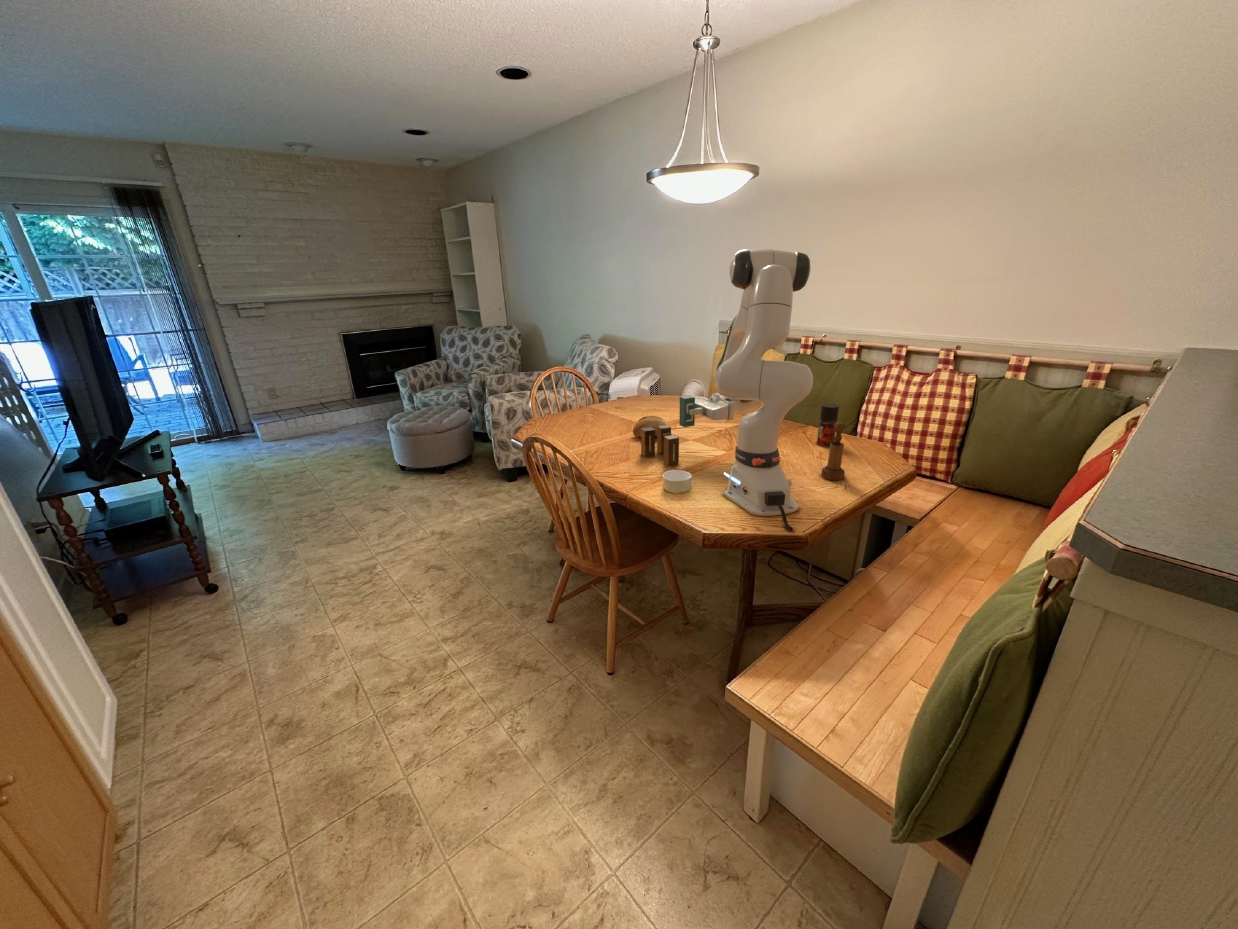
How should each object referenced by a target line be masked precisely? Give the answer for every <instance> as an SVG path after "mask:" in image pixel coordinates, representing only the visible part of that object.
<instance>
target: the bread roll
mask: <svg viewBox="0 0 1238 929" xmlns="http://www.w3.org/2000/svg"><path fill="white" fill-rule="evenodd" d="M661 425H668V424H667V422H666V420H664V419H663V418H662V417H660V416H656V415H651V416H650V415H649V416H643V417H641V418H640V419H638V421H636V423H635V425H634V427H633V430H632V435H633V436H635V437H638V438H639V437H640V438H641V428H648V427H651V428H653V429H655V437H657V426H661Z"/></svg>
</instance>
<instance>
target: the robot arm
mask: <svg viewBox="0 0 1238 929" xmlns="http://www.w3.org/2000/svg"><path fill="white" fill-rule="evenodd" d="M811 269H812V268H811V259H810V257H809V256H808V254H806V253H804V252H803V253H802V252H800V251H794V252H793V251H788V250H780V249H773V248H758V249H757V248H756V249H750V248H745V249H740V250H738V251H736V253H734V255H733V258H732V260H731V262H730V265H729V269H728V270H729V278H730V283H731V284H732V286H734V287H735V288H737V289H740V290H743V291H742V294H741V300H740V306H739V310H738V313H737V314H736V315H735V316H734V318H733V319H732V322H731V324H730V327H729V330H728V335H727V338H726V342H725V345H724V349H723V352H722V355H721V358H720V359H719V361H718V364H717V366H716V372H715V375H714V387H715V388H716V390H717V392H714V393H712V394H711V395H710V397H705V396H701V395H700V396H694V397H695V409H693V408H691V409H688V414H690V415H693V414H695V416H696V415H698V416H702V417H705V418H706V419H709V420H711V421H725V420H726V421H727V420H728V421H733V420H734V417H735V416H741V415H743V417H742V418H741V419H740V420H739V423H738V432H737V445H736V446H735V450H734V458H735V461H734V463H733V464H732V466H731V467H730V471H729V474H728V473H726V472H724V473H723V475H725V476H726V477H727V478H728V484H727V488H726V489H725V490H724V491H723V496H724V497H726V498H727V499H729V500H731V501H732V503H735V504H736V505H738V507H741V508H742V509H743V510H745V511H747V512H748V513H750V514H751V515H753V516H759V517H760V516H761V517H771V516H772V517H773V516H781V518H782V523H783V524H784V526H785V528H786V529H787V530H788V531H790V532H791V531H794V528H793V527H792V526H791V525H790V523H788V520H787V516H786V515H787V514H792V513H795V512H797V511H798V510H799V508H800V506H799V504H798V503H797V502H796V500H795V498H793V496H792V493H791V492H792V491H791V489H792V488H791V487H792V484H793V483H792V479H790V478H787V477H786V475H785V470H783V469H782V467H781V465H780V462H781V458H782V457H781V456H780V451H779V450H780V449H779V447H778V444H779V437H780V431H781V425H782V423H783V421H784V419H785V417H786V415H787V414H788V412H789V411H790V410H791V409H792V408H793V407H795V406H796V405H797V404H799V403H800V402H802V401H804V400H805V399H806V398H807V397H809V395H810V393H811V391H812V390H813V386H814V375H813V373H812V370H811V368H810V367H809V366H808V365H807V364H804V363H800V362H795V361H792V360H791V361H790V360H766V359H763V357H764V355H765V354H766V353H767V352H768V351H770V350H771V349H774V348H776V347H778V346H781V345H782V344H783V343H785V341H787V339H788V337H789V335H790V329H791V328H790V327H791V319H792V310H793V299H794V292H799V291H801V290H802V289H803V288H805V286H806V285H807V282H808V281H809V279H810V276H811Z"/></svg>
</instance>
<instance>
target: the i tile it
mask: <svg viewBox="0 0 1238 929" xmlns="http://www.w3.org/2000/svg"><path fill="white" fill-rule="evenodd" d="M640 455H641V456H643V457H644V458H649V457H655V456H656V436H655V429H653V428H651V427H648V428H641V437H640Z"/></svg>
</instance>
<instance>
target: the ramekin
mask: <svg viewBox="0 0 1238 929" xmlns="http://www.w3.org/2000/svg"><path fill="white" fill-rule="evenodd" d="M692 477H693V476H692V474H691V473H690V472H688V471H686V470H682V469H672V470H667V471H665V472H664V473H663V474H662V481H663V488H664V490H665V491H667V492H668V493H672V494H673V493H674V494H681V493H686V492H687V491H689V490H690V488H691V482H692Z"/></svg>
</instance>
